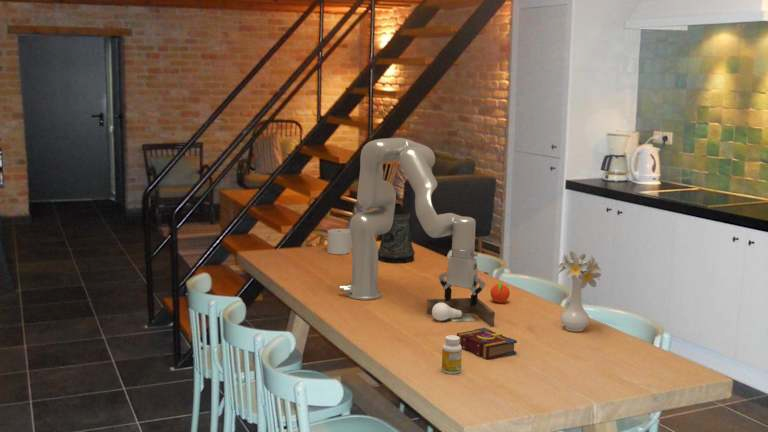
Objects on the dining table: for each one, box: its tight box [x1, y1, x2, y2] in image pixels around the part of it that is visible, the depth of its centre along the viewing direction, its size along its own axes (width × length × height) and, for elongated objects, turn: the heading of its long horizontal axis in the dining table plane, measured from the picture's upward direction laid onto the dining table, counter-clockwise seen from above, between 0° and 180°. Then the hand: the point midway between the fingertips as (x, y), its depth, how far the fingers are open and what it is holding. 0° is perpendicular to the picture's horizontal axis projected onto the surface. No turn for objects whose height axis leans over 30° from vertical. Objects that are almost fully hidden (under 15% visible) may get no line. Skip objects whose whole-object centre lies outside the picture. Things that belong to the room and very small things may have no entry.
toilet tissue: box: [326, 228, 352, 255], centre depth 387 cm, size 11×12×10 cm
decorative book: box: [456, 327, 518, 360], centre depth 253 cm, size 11×16×5 cm
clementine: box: [490, 282, 510, 304], centre depth 306 cm, size 8×7×7 cm
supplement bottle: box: [441, 334, 463, 375], centre depth 234 cm, size 5×5×10 cm
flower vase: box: [556, 250, 602, 333], centre depth 273 cm, size 13×18×25 cm
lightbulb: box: [431, 303, 463, 322], centre depth 283 cm, size 6×6×11 cm
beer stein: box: [376, 202, 415, 265], centre depth 372 cm, size 16×19×25 cm
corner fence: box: [426, 297, 496, 328], centre depth 283 cm, size 18×18×5 cm
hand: (460, 302), depth 285 cm, fingers open, 9 cm apart
